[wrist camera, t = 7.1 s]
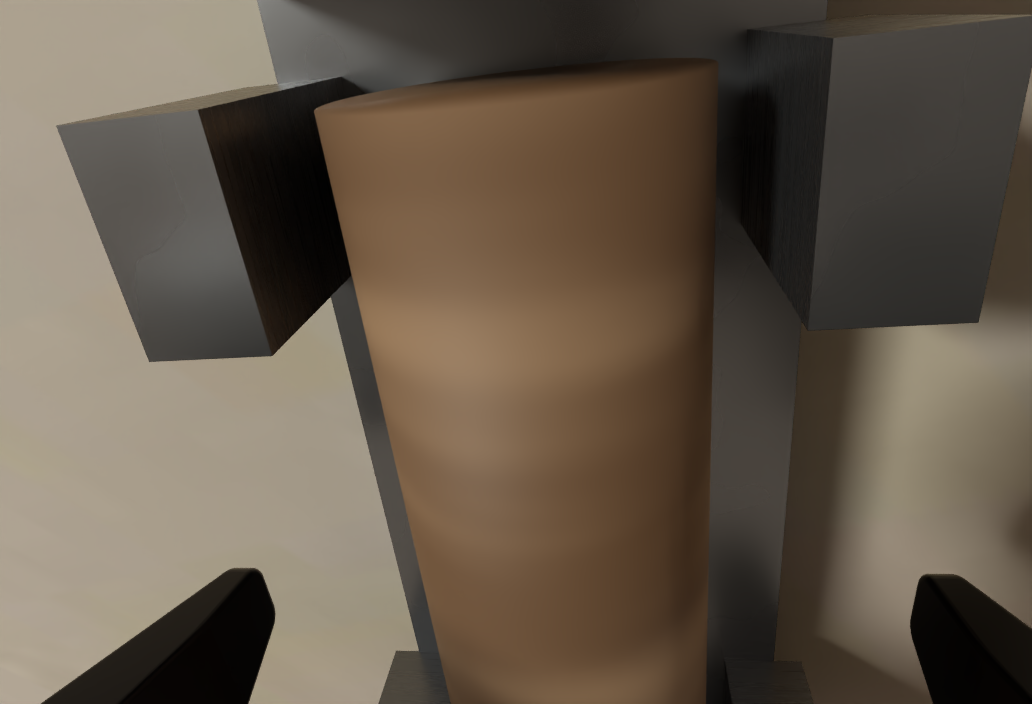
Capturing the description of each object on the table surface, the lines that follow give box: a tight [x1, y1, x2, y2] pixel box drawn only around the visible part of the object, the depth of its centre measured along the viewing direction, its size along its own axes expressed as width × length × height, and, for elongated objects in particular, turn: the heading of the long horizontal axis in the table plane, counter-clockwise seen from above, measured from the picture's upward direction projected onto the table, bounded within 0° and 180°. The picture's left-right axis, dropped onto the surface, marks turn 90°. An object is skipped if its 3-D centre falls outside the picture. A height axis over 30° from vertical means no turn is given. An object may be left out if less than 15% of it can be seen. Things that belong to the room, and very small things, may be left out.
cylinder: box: [314, 58, 718, 704], centre depth 10 cm, size 13×4×4 cm, turn 6°
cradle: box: [56, 0, 1032, 704], centre depth 10 cm, size 8×18×4 cm, turn 6°
